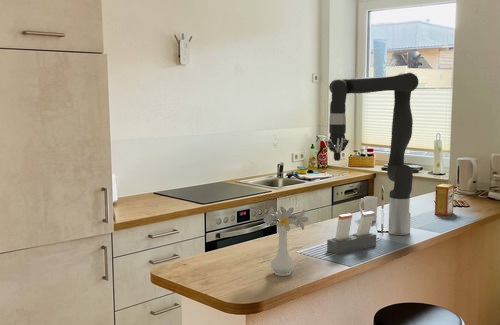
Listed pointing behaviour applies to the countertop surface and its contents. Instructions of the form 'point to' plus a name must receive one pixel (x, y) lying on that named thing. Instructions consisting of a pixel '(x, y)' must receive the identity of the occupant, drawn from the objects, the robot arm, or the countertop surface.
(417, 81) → the robot arm
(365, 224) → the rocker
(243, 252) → the countertop surface
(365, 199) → the mug
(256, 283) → the countertop surface
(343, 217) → the panel
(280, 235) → the flower vase
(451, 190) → the baking soda box
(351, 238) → the gray rectangular block
